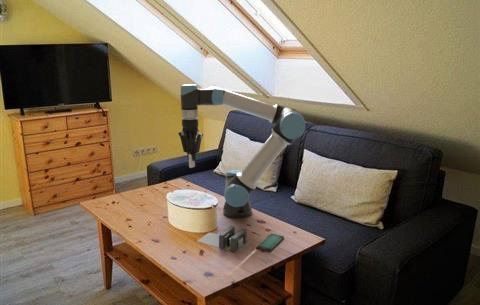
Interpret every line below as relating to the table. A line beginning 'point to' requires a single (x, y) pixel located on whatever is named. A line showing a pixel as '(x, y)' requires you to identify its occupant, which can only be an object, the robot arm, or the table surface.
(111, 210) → the table surface
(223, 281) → the table surface
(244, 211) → the robot arm
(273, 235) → the smartphone
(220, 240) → the grey angular piece
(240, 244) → the grey block
